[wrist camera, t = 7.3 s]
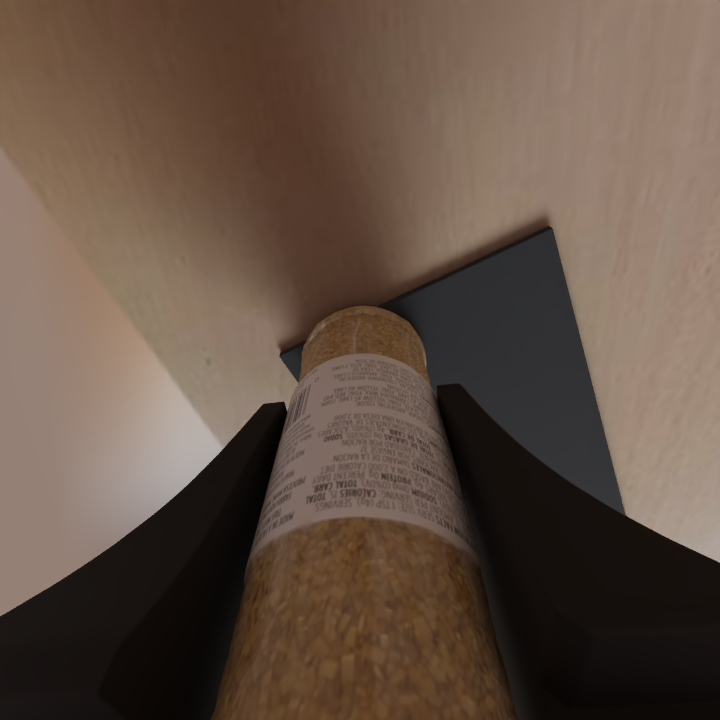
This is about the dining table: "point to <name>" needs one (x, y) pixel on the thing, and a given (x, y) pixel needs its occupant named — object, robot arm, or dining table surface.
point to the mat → (514, 356)
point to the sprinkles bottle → (364, 550)
